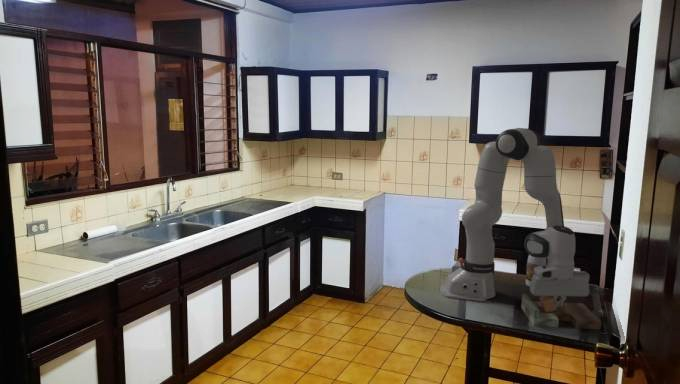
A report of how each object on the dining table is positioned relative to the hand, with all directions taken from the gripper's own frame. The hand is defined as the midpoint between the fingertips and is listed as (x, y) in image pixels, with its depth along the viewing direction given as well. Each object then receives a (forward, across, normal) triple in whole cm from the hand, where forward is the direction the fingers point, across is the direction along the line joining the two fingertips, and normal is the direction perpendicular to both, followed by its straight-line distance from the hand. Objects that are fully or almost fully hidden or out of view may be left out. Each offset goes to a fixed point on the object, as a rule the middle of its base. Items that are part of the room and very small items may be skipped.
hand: (558, 306), depth 179 cm
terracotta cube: (+1, +3, 0) cm, 3 cm away
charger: (+3, +25, -50) cm, 56 cm away
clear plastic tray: (+5, -1, -1) cm, 5 cm away
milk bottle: (+4, -3, -34) cm, 35 cm away
